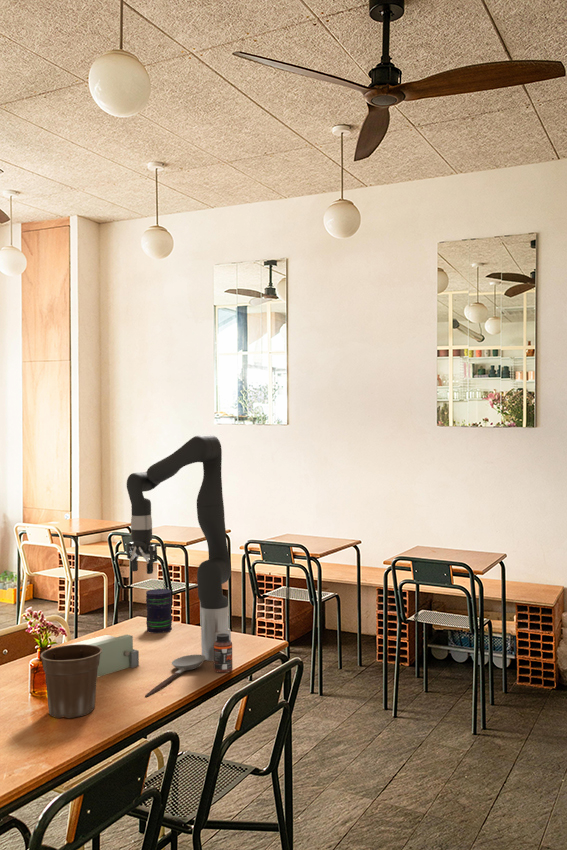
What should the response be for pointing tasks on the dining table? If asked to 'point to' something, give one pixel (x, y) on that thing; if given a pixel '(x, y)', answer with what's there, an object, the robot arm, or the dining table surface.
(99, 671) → the door
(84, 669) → the plant pot
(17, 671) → the dining table surface
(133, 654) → the cabinet
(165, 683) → the spoon
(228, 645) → the supplement bottle
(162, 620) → the dark blue barrel
